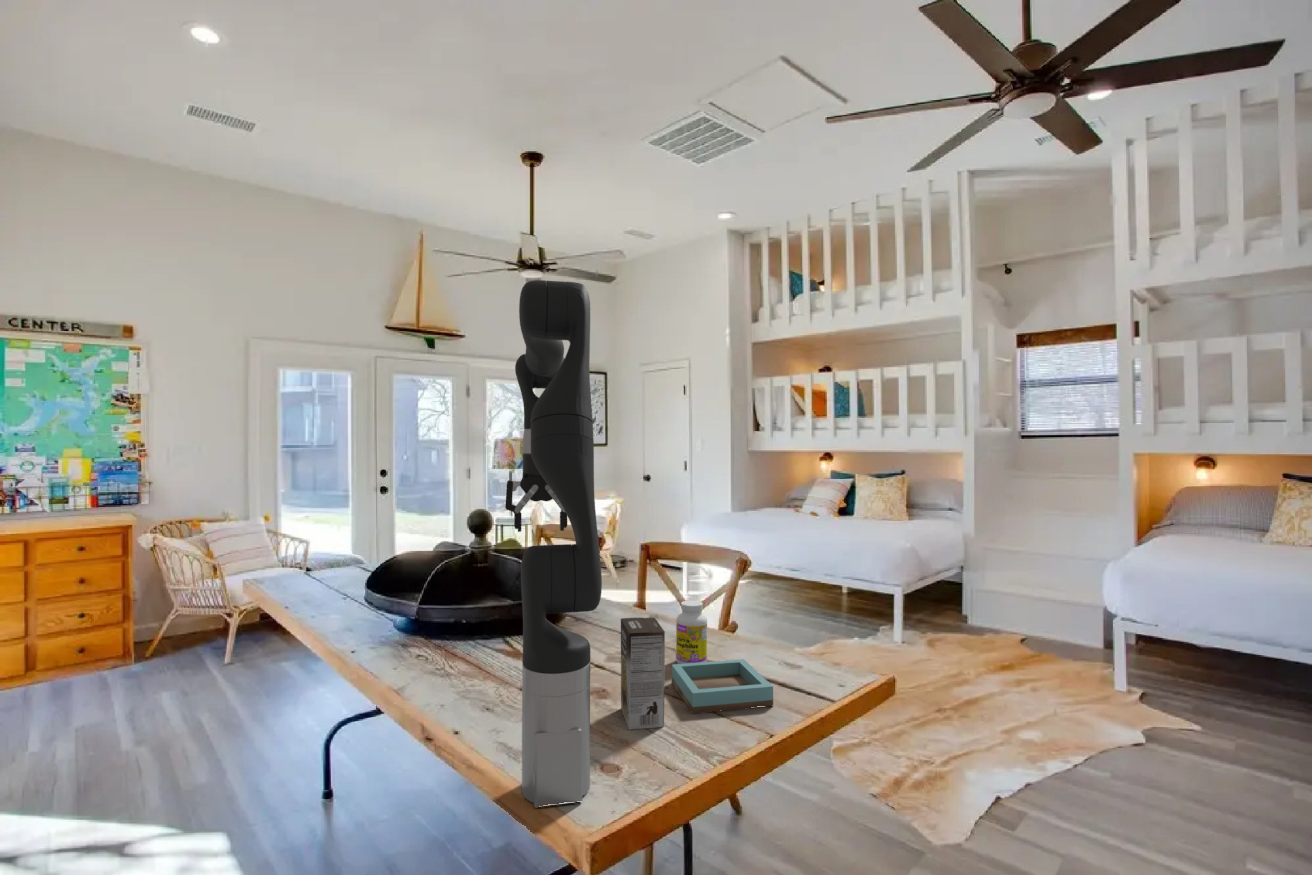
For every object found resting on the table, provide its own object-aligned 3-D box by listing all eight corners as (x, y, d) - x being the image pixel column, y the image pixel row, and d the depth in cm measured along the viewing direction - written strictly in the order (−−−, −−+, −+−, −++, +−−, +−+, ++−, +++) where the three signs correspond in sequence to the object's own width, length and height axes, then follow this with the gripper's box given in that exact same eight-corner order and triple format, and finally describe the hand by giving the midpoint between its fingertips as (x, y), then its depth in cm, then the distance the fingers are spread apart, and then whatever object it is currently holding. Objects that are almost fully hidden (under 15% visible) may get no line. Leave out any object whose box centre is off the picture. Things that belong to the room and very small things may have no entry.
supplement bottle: (670, 664, 139) (670, 604, 139) (684, 655, 144) (684, 597, 144) (699, 670, 135) (699, 608, 136) (711, 660, 141) (712, 601, 141)
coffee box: (619, 708, 116) (619, 617, 116) (655, 705, 117) (655, 615, 117) (627, 730, 107) (627, 632, 107) (665, 727, 108) (665, 630, 108)
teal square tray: (773, 706, 117) (773, 686, 117) (692, 713, 114) (692, 693, 114) (743, 676, 131) (743, 659, 131) (671, 682, 128) (671, 664, 128)
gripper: (505, 451, 128) (505, 534, 128) (578, 451, 131) (577, 532, 131) (505, 451, 135) (505, 529, 135) (574, 451, 138) (574, 527, 138)
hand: (540, 530), depth 133 cm, fingers open, 8 cm apart
